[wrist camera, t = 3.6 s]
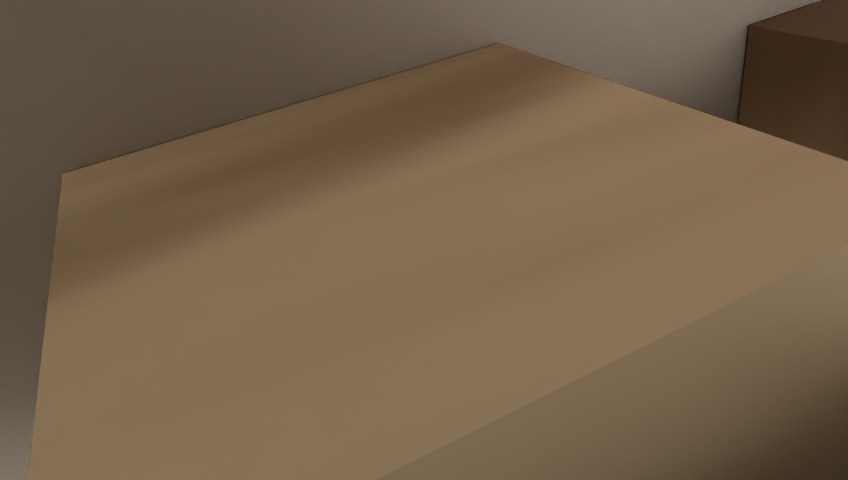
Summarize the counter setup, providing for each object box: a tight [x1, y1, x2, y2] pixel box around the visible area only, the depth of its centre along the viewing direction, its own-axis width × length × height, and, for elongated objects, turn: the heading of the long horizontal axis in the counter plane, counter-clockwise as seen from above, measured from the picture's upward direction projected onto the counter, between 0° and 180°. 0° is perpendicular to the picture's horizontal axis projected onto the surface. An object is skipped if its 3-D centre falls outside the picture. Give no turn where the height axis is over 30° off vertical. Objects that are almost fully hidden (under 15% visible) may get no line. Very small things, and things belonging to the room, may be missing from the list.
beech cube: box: [27, 43, 848, 480], centre depth 7 cm, size 6×6×6 cm
